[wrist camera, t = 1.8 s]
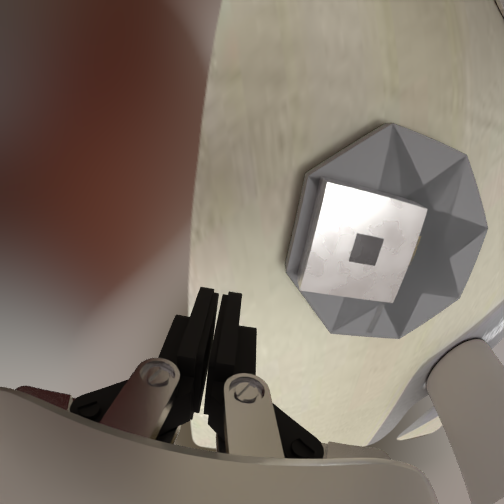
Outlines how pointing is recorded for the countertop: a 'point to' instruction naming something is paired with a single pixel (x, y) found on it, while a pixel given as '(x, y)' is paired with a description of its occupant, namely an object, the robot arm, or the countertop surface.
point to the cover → (359, 242)
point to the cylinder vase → (473, 415)
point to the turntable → (430, 239)
